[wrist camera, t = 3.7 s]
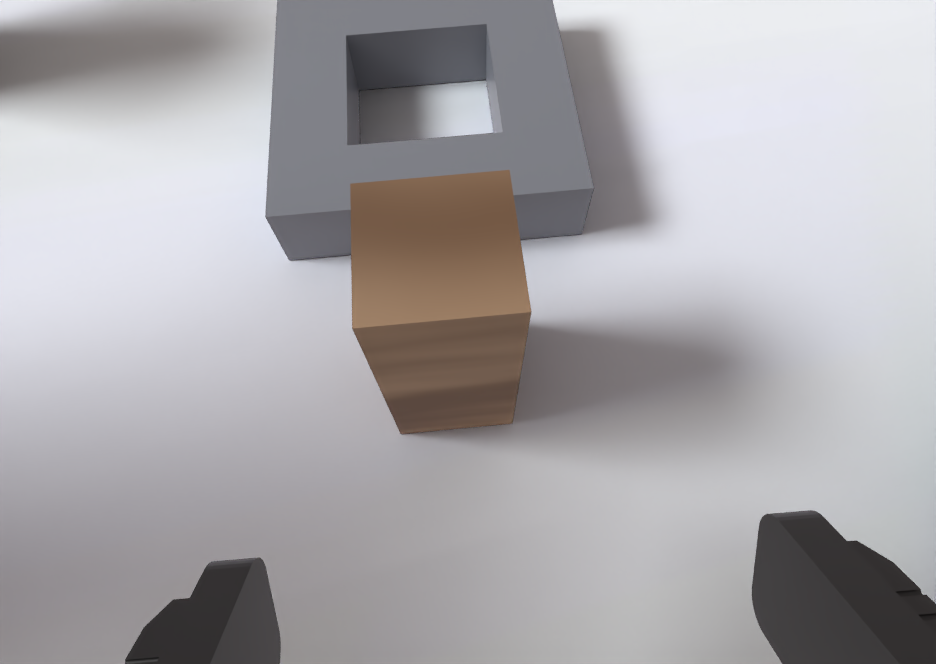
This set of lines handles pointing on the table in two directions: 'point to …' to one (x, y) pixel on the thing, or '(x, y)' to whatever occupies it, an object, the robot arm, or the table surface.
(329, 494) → the table surface
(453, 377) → the peg
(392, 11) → the socket
